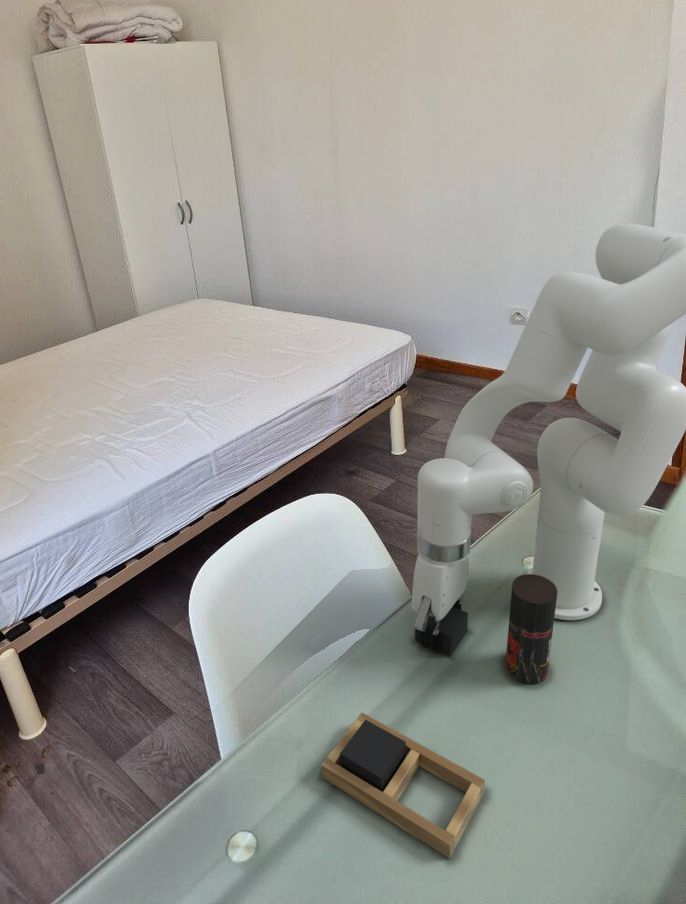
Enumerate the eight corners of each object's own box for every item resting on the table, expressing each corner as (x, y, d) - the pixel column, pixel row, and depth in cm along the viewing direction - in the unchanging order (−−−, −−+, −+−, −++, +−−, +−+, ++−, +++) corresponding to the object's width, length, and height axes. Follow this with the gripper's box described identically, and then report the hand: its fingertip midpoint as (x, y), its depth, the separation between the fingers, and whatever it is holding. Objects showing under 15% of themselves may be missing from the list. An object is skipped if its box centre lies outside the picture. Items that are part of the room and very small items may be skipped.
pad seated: (366, 740, 91) (365, 719, 90) (405, 762, 88) (405, 741, 86) (341, 774, 87) (339, 753, 85) (381, 799, 84) (381, 778, 82)
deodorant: (549, 686, 97) (560, 605, 91) (506, 682, 98) (513, 601, 92) (545, 655, 102) (554, 575, 96) (504, 650, 104) (510, 572, 97)
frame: (362, 724, 94) (361, 712, 92) (484, 793, 84) (485, 779, 83) (322, 778, 87) (321, 764, 86) (449, 859, 77) (450, 845, 76)
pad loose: (432, 617, 111) (433, 598, 109) (467, 632, 107) (468, 612, 106) (414, 640, 107) (414, 621, 105) (450, 656, 103) (450, 637, 101)
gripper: (446, 503, 107) (444, 593, 115) (390, 564, 95) (392, 660, 103) (492, 518, 103) (486, 610, 111) (439, 584, 91) (437, 682, 99)
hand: (441, 633), depth 107 cm, fingers closed on pad loose, 6 cm apart
